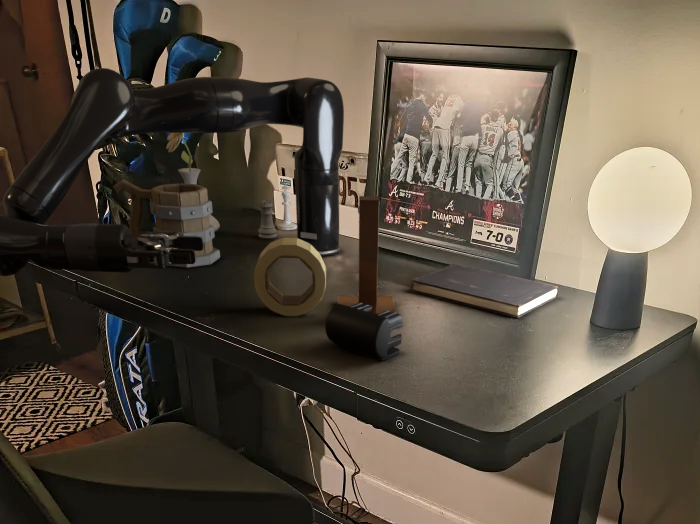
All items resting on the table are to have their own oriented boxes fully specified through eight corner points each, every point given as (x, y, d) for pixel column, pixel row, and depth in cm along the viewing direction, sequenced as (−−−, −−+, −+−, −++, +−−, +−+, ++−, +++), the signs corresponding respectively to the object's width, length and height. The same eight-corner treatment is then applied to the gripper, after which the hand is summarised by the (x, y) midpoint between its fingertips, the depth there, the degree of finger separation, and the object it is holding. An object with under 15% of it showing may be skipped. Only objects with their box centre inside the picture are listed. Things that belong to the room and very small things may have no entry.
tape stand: (337, 299, 137) (336, 182, 126) (391, 300, 138) (395, 184, 127) (337, 325, 125) (337, 199, 114) (396, 326, 126) (401, 200, 115)
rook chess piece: (280, 236, 176) (279, 200, 171) (272, 240, 172) (270, 203, 168) (263, 234, 177) (261, 198, 172) (254, 238, 173) (252, 202, 169)
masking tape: (258, 307, 132) (254, 237, 126) (326, 307, 133) (325, 238, 126) (256, 315, 128) (251, 244, 122) (326, 316, 129) (325, 245, 123)
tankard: (226, 253, 161) (220, 179, 153) (204, 269, 151) (196, 190, 143) (139, 247, 164) (128, 173, 156) (112, 262, 153) (99, 183, 145)
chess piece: (293, 230, 181) (292, 186, 175) (274, 229, 181) (272, 185, 176) (299, 226, 185) (298, 183, 179) (280, 224, 185) (278, 181, 180)
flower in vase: (174, 227, 180) (160, 110, 166) (222, 227, 181) (212, 111, 167) (167, 241, 169) (151, 117, 155) (218, 241, 170) (207, 118, 156)
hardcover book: (517, 318, 131) (519, 305, 130) (410, 291, 142) (411, 279, 141) (557, 297, 142) (559, 285, 141) (455, 274, 153) (456, 262, 152)
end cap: (324, 350, 116) (324, 307, 112) (354, 338, 121) (354, 297, 117) (374, 367, 111) (375, 323, 107) (403, 354, 116) (405, 311, 112)
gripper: (83, 234, 115) (189, 236, 116) (106, 214, 127) (203, 217, 128) (92, 283, 119) (194, 285, 120) (114, 259, 131) (207, 261, 132)
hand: (199, 250), depth 124 cm, fingers open, 8 cm apart
